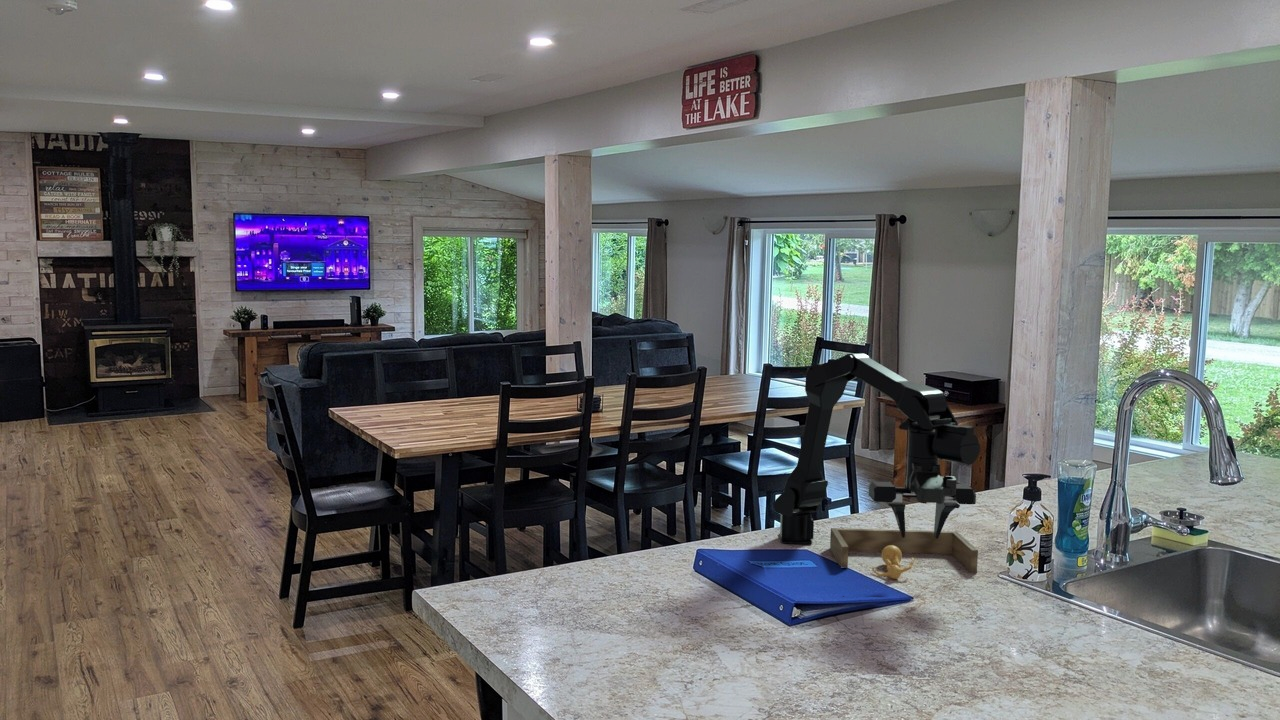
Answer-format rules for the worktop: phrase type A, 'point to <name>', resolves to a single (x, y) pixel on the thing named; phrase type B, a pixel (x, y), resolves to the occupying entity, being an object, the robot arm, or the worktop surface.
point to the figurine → (893, 562)
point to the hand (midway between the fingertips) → (919, 537)
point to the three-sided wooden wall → (902, 544)
